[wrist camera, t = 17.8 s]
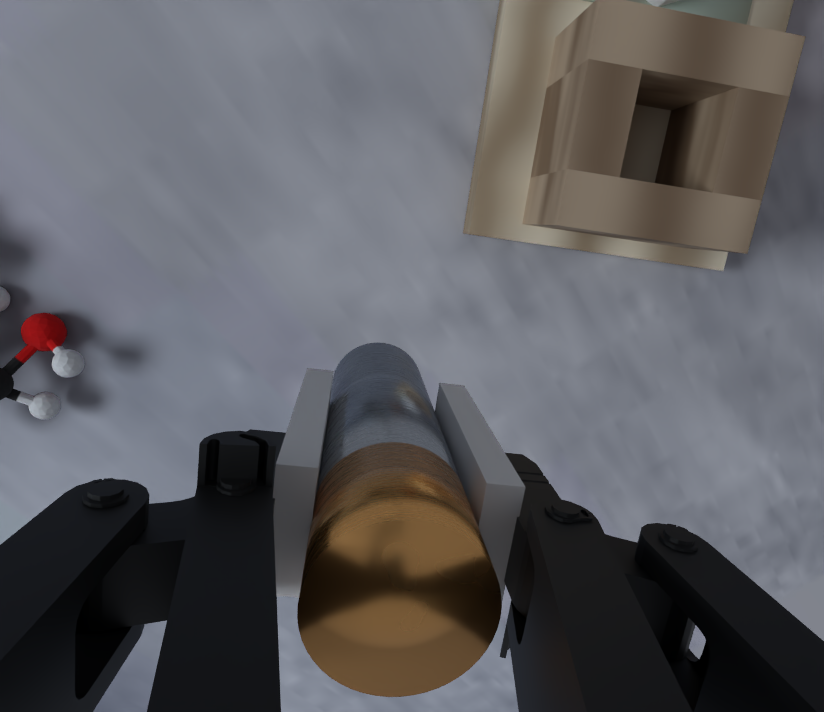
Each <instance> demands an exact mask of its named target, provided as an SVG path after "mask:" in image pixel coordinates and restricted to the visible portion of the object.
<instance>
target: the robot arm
mask: <svg viewBox="0 0 824 712" xmlns="http://www.w3.org/2000/svg"><path fill="white" fill-rule="evenodd" d="M332 380H333V371H329V370H320V369H311V368H307V371H306V374H305V377H304V380H303V383H302V386H301V389H300V392H299V395H298V398H297V401H296V404H295V407H294V411H293V414H292V417H291V420H290V423H289V426H288V429H287V432H286V433H282V432H271V431H261V430H251V429H250V430H249V431H247V432H243V431H229V432H221V433H216V434H212V435H210V436H208V437H206V438H204V439H203V440H202V442H201V443H200V447H199V464H198V481H197V489H196V494H195V497H192V498H189V499H185V500H181V501H174V502H166V503H154V504H149V493H148V491H147V488H145V487H144V486H142V485H141V484H139V483H136V482H132V481H128V480H116V479H113V478H108V479H104V480H102V479H99V480H93V481H91V482H89V483H85V484H82V485H79V486H76V487H74V488H73V489H71V490H69V491H67V492H66V493H64V494H63V495H62V496H61V497H59V498H58V499H57V500H56V501H54V502H53V503H52V504H51V505H49V506H48V507H47V508H46V509H44V510H43V511H42V512H41V513H39V514H38V515H37V516H36V517H34V518H33V519H32V520H31V521H29V522H28V523H27V524H26V525H25V526H23V527H22V528H21V529H20V530H18V531H17V532H16V533H15V534H13V535H12V536H11V537H10V538H8V539H7V540H6V541H5V542H3V543H2V544H1V545H0V712H93V711H94V709H95V707H96V706H97V704H98V703H99V701H100V700H101V698H102V696H103V695H104V693H105V692H106V690H107V688H108V687H109V685H110V684H111V682H112V681H113V679H114V677H115V676H116V674H117V673H118V671H119V670H120V668H121V666H122V665H123V663H124V662H125V660H126V659H127V657H128V655H129V654H130V652H131V651H132V649H133V647H134V646H135V644H136V643H137V641H138V640H139V638H140V636H141V634H142V631H143V628H144V624H147V623H153V622H159V621H165V620H167V624H166V629H165V633H164V638H163V642H162V646H161V651H160V655H159V660H158V664H157V669H156V673H155V678H154V682H153V687H152V691H151V696H150V700H149V705H148V709H147V712H281V703H280V676H279V650H278V623H277V597H276V596H285V597H299V595H300V589H301V582H302V576H303V569H304V563H305V557H306V550H307V544H308V537H309V532H310V526H311V523H312V519H313V512H314V505H315V499H316V492H317V486H318V479H319V472H320V466H321V459H322V453H323V446H324V439H325V433H326V426H327V420H328V413H329V406H330V398H331V389H332ZM435 414H436V417H437V419H438V422H439V425H440V427H441V430H442V433H443V435H444V438H445V441H446V443H447V446H448V448H449V451H450V454H451V456H452V459H453V462H454V464H455V467H456V470H457V472H458V475H459V478H460V480H461V483H462V485H463V488H464V491H465V493H466V496H467V499H468V501H469V504H470V507H471V509H472V512H473V515H474V517H475V520H476V522H477V525H478V528H479V530H480V533H481V536H482V538H483V541H484V544H485V546H486V549H487V552H488V554H489V557H490V559H491V562H492V565H493V567H494V570H495V573H496V576H497V579H498V581H499V584H500V590H501V600H502V599H503V594H504V589H505V584H506V587H507V589H508V592H509V594H510V597H511V605H510V609H509V614H508V619H507V624H506V629H505V633H504V638H503V643H502V648H501V653H500V657H502V658H506V654H507V650H508V649H509V648H510V650H511V657H512V665H513V672H514V679H515V687H516V694H517V701H518V709H519V712H824V641H823V640H821V639H820V638H819V637H818V636H817V635H816V634H814V633H813V632H812V631H811V630H810V629H809V628H807V627H806V626H805V625H804V624H803V623H802V622H800V621H799V620H798V619H797V618H796V617H795V616H793V615H792V614H791V613H790V612H789V611H787V610H786V609H785V608H784V607H783V606H782V605H780V604H779V603H778V602H777V601H776V600H775V599H773V598H772V597H771V596H770V595H769V594H768V593H766V592H765V591H764V590H763V589H762V588H760V587H759V586H758V585H757V584H756V583H755V582H753V581H752V580H751V579H750V578H749V577H748V576H746V575H745V574H744V573H743V572H742V571H741V570H739V569H738V568H737V567H736V566H735V565H733V564H732V563H731V562H730V561H729V560H728V559H726V558H725V557H724V556H723V555H722V554H721V553H719V552H718V551H717V550H716V549H715V548H714V547H712V546H711V545H710V544H709V543H708V542H706V541H705V540H703V539H702V538H700V537H699V536H697V535H695V534H693V533H691V532H689V531H688V530H687V529H685V528H682V527H680V526H678V527H676V525H672V524H660V523H653V524H647V525H645V526H643V527H642V528H641V532H640V536H639V540H638V543H636V542H632V541H628V540H624V539H620V538H616V537H612V536H609V535H606V534H604V532H603V530H602V527H601V525H600V523H599V521H598V520H597V518H596V517H595V516H594V515H593V514H592V513H591V512H590V511H588V510H587V509H585V508H583V507H582V506H579V505H577V504H574V503H572V502H569V501H565V500H561V498H560V497H559V496H558V494H557V493H556V491H555V490H554V488H553V487H552V486H551V484H549V481H548V480H547V479H546V477H545V476H543V473H542V471H541V470H540V469H539V467H538V466H537V464H536V463H534V462H533V461H531V460H530V459H528V458H527V457H525V456H524V455H522V454H512V453H505V452H504V451H503V449H502V447H501V446H500V444H499V442H498V441H497V439H496V437H495V436H494V434H493V432H492V431H491V429H490V427H489V426H488V424H487V423H486V421H485V419H484V418H483V416H482V414H481V413H480V411H479V409H478V408H477V406H476V404H475V403H474V401H473V399H472V398H471V396H470V394H469V393H468V391H467V389H466V388H465V386H463V385H454V384H445V383H439V390H438V396H437V402H436V408H435ZM695 625H696V626H697V627H698V628H699V629H700V630H701V632H702V633H703V635H704V636H705V638H706V643H705V646H704V649H703V653H702V655H701V657H700V659H698V658H697V657H695V655H694V654H693V653H692V652H691V651H690V649H689V644H690V641H691V638H692V634H693V631H694V628H695Z"/></svg>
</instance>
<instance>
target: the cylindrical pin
mask: <svg viewBox="0 0 824 712" xmlns="http://www.w3.org/2000/svg"><path fill="white" fill-rule="evenodd" d="M501 608H502V600H501V590H500V584H499V581H498V579H497V576H496V573H495V570H494V567H493V565H492V562H491V559H490V557H489V554H488V552H487V549H486V546H485V544H484V541H483V538H482V536H481V533H480V530H479V528H478V525H477V522H476V520H475V517H474V515H473V512H472V509H471V507H470V504H469V501H468V499H467V496H466V493H465V491H464V488H463V485H462V483H461V480H460V478H459V475H458V472H457V470H456V467H455V464H454V462H453V459H452V456H451V454H450V451H449V448H448V446H447V443H446V441H445V438H444V435H443V433H442V430H441V427H440V425H439V422H438V419H437V417H436V414H435V411H434V409H433V406H432V404H431V401H430V398H429V396H428V393H427V390H426V388H425V385H424V382H423V380H422V377H421V375H420V372H419V369H418V367H417V365H416V363H415V362H414V360H413V359H412V358H411V357H410V356H409V355H408V354H407V353H406V352H405V351H403V350H402V349H400V348H398V347H396V346H393V345H390V344H386V343H369V344H365V345H362V346H359V347H357V348H355V349H353V350H352V351H350V352H349V353H348V354H347V355H346V356H345V357H344V358H343V359H342V360H341V361H340V363H339V364H338V366H337V368H336V370H335V373H334V377H333V382H332V389H331V398H330V406H329V413H328V420H327V426H326V433H325V439H324V446H323V453H322V459H321V466H320V472H319V479H318V486H317V492H316V499H315V505H314V512H313V519H312V523H311V526H310V532H309V537H308V544H307V550H306V557H305V563H304V569H303V576H302V582H301V589H300V595H299V602H298V616H297V618H298V626H299V632H300V635H301V639H302V641H303V644H304V646H305V648H306V650H307V652H308V653H309V655H310V656H311V658H312V660H313V661H314V662H315V663H316V664H317V665H318V667H319V668H320V669H321V670H322V671H323V672H325V673H326V674H327V675H328V676H329V677H331V678H332V679H334V680H335V681H337V682H338V683H340V684H342V685H344V686H346V687H348V688H350V689H353V690H356V691H359V692H362V693H366V694H370V695H375V696H385V697H402V696H410V695H416V694H420V693H425V692H428V691H431V690H434V689H437V688H439V687H441V686H443V685H446V684H448V683H450V682H451V681H453V680H455V679H456V678H458V677H459V676H461V675H462V674H463V673H465V672H466V671H467V670H469V669H470V668H471V667H472V666H473V665H474V664H475V663H476V662H477V661H478V660H479V659H480V658H481V656H482V655H483V654H484V653H485V651H486V650H487V648H488V647H489V645H490V643H491V642H492V640H493V638H494V635H495V633H496V631H497V628H498V624H499V621H500V616H501Z"/></svg>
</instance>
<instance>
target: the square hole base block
mask: <svg viewBox="0 0 824 712" xmlns="http://www.w3.org/2000/svg"><path fill="white" fill-rule="evenodd" d="M793 1H794V0H680V1H677V2H674V3H670V4H667V5H664V6H661V7H657V6H653V5H651V4H650V3H649V2H647V1H646V0H500V2H499V9H498V15H497V21H496V28H495V34H494V40H493V47H492V53H491V59H490V66H489V72H488V78H487V85H486V91H485V97H484V104H483V110H482V117H481V123H480V129H479V136H478V142H477V148H476V155H475V161H474V167H473V174H472V180H471V186H470V193H469V199H468V205H467V212H466V218H465V224H464V231H463V233H465V234H471V235H478V236H485V237H492V238H499V239H506V240H513V241H520V242H527V243H533V244H540V245H547V246H554V247H561V248H568V249H575V250H582V251H589V252H596V253H602V254H609V255H616V256H623V257H630V258H637V259H644V260H651V261H658V262H664V263H671V264H678V265H685V266H692V267H699V268H706V269H713V270H720V271H724V267H725V263H726V259H727V255H728V252H734V253H745V254H747V253H748V250H749V246H750V242H751V238H752V235H753V231H754V227H755V223H756V220H757V216H758V212H759V209H760V205H761V201H762V197H763V194H764V190H765V186H766V182H767V179H768V175H769V171H770V167H771V164H772V160H773V156H774V152H775V149H776V145H777V141H778V137H779V134H780V130H781V126H782V123H783V119H784V115H785V111H786V108H787V104H788V100H789V96H790V93H791V89H792V85H793V81H794V78H795V74H796V70H797V66H798V63H799V59H800V55H801V51H802V48H803V44H804V40H805V36H800V35H795V34H790V33H786V28H787V24H788V21H789V17H790V13H791V9H792V5H793Z"/></svg>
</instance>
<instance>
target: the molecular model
mask: <svg viewBox="0 0 824 712" xmlns="http://www.w3.org/2000/svg"><path fill="white" fill-rule="evenodd" d="M9 303H10V295H9V293H8V292H7V290H6V289H4V288H3V287H1V286H0V312H1V311H3V310H5V309H6V308H7V307H8V306H9ZM21 335H22V338H23V340H24V342H25V343H26V344H27V345H26V346H25V347H24V348H23V349H22V350H21V351H20V352H19V353H18V354H17V355H16V356H15V357H14V358H13V359H12V360H11V361H10V362H9V363H8V364H7V365H6V366H4V367H3V368H0V400H1V399H3V398H5V397H6V398H9V399H12V400H15V401H17V402H20V403H23V404H26V405H28V406H29V410H30V413H31V414H32V415H33V416H34V417H36V418H39V419H41V420H43V419H50V418H52V417H54V416H56V415H57V414H58V413H59V411H60V409H61V402H60V399H59V398H58V397H57V396H56V395H54V394H52V393H49V392H41V393H38V394H37V395H35V396H32V395H29V394H26V393H23V392H21V391H18V390H15V389H13V386H14V381H13V378H12V375H13V374H14V373H15V372H16V371H17V370H18V369H19V368H20V367H21V366H22V365H23V364H24V363H25V362H26V361H27V360H28V359H29V358H30V357H31V356H32V355H33V354H34V353H35V352H36V351H37V350H38V351H51V350H52V352H53V353H54V354H55V356H54V357H53V360H52V367H53V370H54V371H55V372H56V373H57V374H58V375H60V376H62V377H67V378H69V377H74V376H77V375H78V374H80V373H81V372H82V370H83V369H84V365H85V361H84V358H83V356H82V355H81V354H80V353H79V352H77V351H75V350H71V349H66V350H65V349H64V348H63V347H62V345H61V344H62V343H63V342H64V340H65V338H66V336H67V329H66V327H65V325H64V323H63V321H62V320H61V319H60V318H58V317H57V316H55V315H52V314H50V313H38V314H34V315H32V316H31V317H29V318H27V319H26V320H25V322H24V323H23V325H22V327H21Z"/></svg>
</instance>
